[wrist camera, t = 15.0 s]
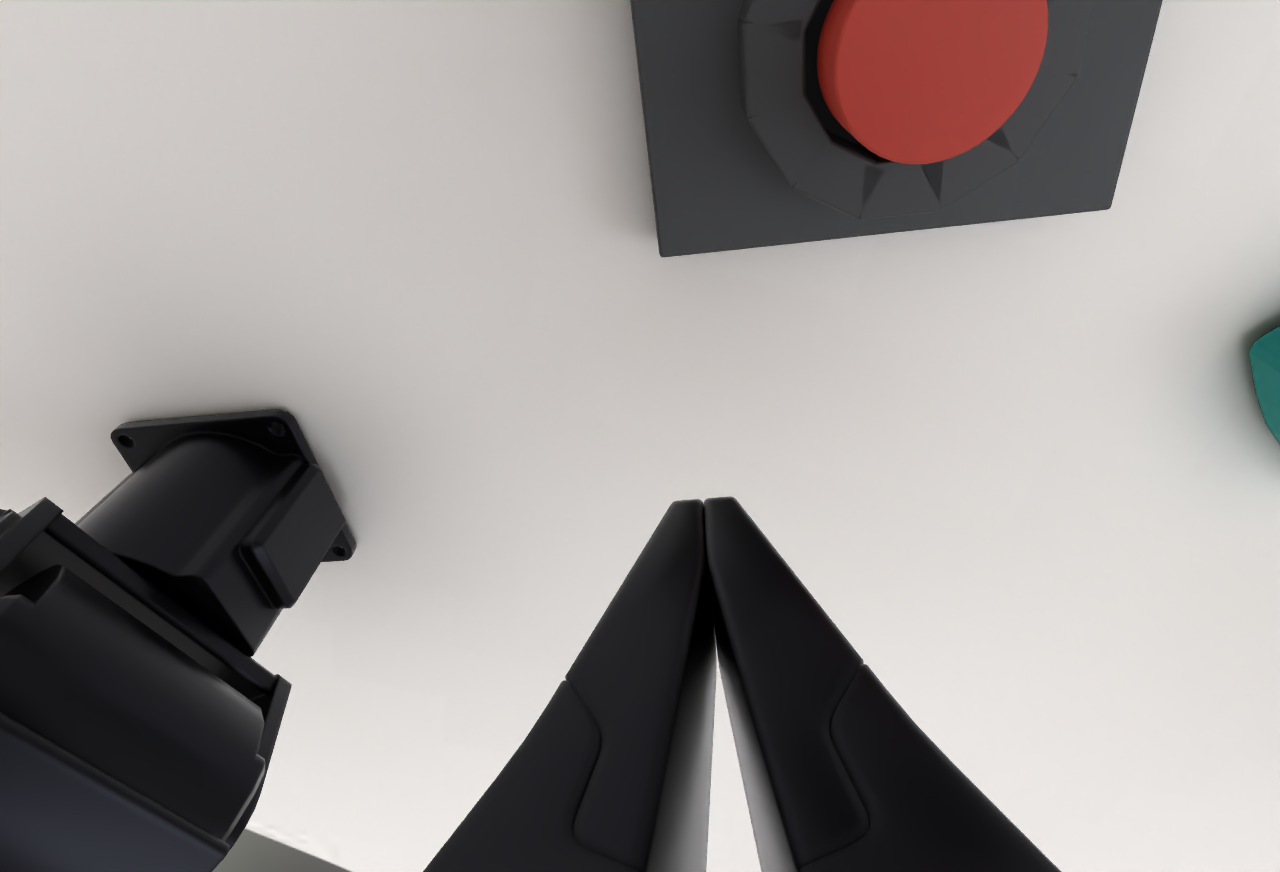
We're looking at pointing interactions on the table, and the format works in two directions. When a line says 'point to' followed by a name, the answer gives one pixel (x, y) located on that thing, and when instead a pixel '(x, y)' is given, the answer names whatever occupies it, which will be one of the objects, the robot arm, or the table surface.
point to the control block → (838, 163)
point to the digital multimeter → (1268, 378)
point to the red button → (928, 71)
